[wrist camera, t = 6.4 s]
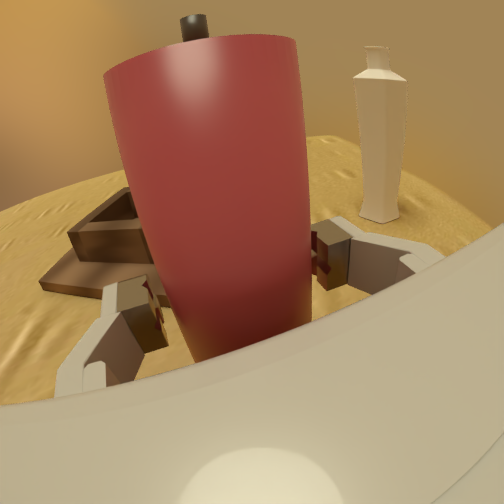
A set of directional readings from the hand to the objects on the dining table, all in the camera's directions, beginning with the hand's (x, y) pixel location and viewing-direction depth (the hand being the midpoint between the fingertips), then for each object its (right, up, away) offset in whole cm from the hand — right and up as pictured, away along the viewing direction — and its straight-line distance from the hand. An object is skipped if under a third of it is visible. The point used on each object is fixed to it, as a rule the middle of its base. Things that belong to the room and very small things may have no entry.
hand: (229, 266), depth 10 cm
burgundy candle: (+1, -6, +3) cm, 7 cm away
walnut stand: (-9, +1, +16) cm, 19 cm away
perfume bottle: (+13, +4, +16) cm, 20 cm away
